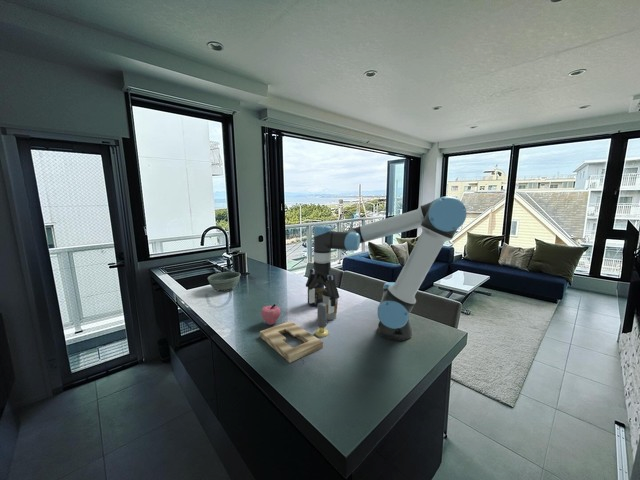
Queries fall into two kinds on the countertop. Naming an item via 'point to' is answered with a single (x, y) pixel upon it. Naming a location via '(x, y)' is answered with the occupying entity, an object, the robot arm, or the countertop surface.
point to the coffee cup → (326, 300)
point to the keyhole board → (290, 354)
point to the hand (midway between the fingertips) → (321, 307)
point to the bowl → (224, 280)
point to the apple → (270, 314)
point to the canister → (317, 294)
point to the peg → (321, 320)
